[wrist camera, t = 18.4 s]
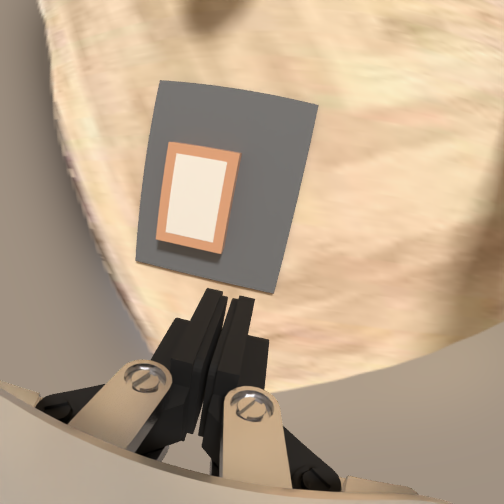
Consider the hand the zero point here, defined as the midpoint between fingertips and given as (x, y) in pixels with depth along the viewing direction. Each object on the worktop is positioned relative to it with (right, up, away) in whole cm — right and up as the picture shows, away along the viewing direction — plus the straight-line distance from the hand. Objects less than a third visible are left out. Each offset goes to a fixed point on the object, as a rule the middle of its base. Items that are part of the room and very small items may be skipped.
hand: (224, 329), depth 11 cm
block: (-1, +7, +20) cm, 21 cm away
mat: (-2, +9, +21) cm, 23 cm away
